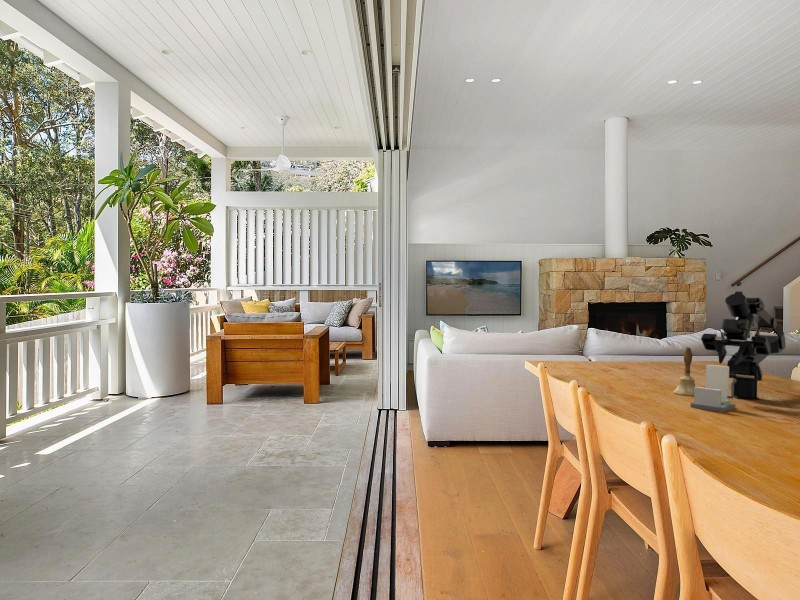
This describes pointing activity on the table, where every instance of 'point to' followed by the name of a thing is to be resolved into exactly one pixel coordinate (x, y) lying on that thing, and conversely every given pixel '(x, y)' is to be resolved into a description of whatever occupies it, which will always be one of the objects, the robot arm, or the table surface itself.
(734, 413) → the table surface
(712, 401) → the gauge base
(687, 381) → the hand bell
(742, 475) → the table surface
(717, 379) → the cream block
